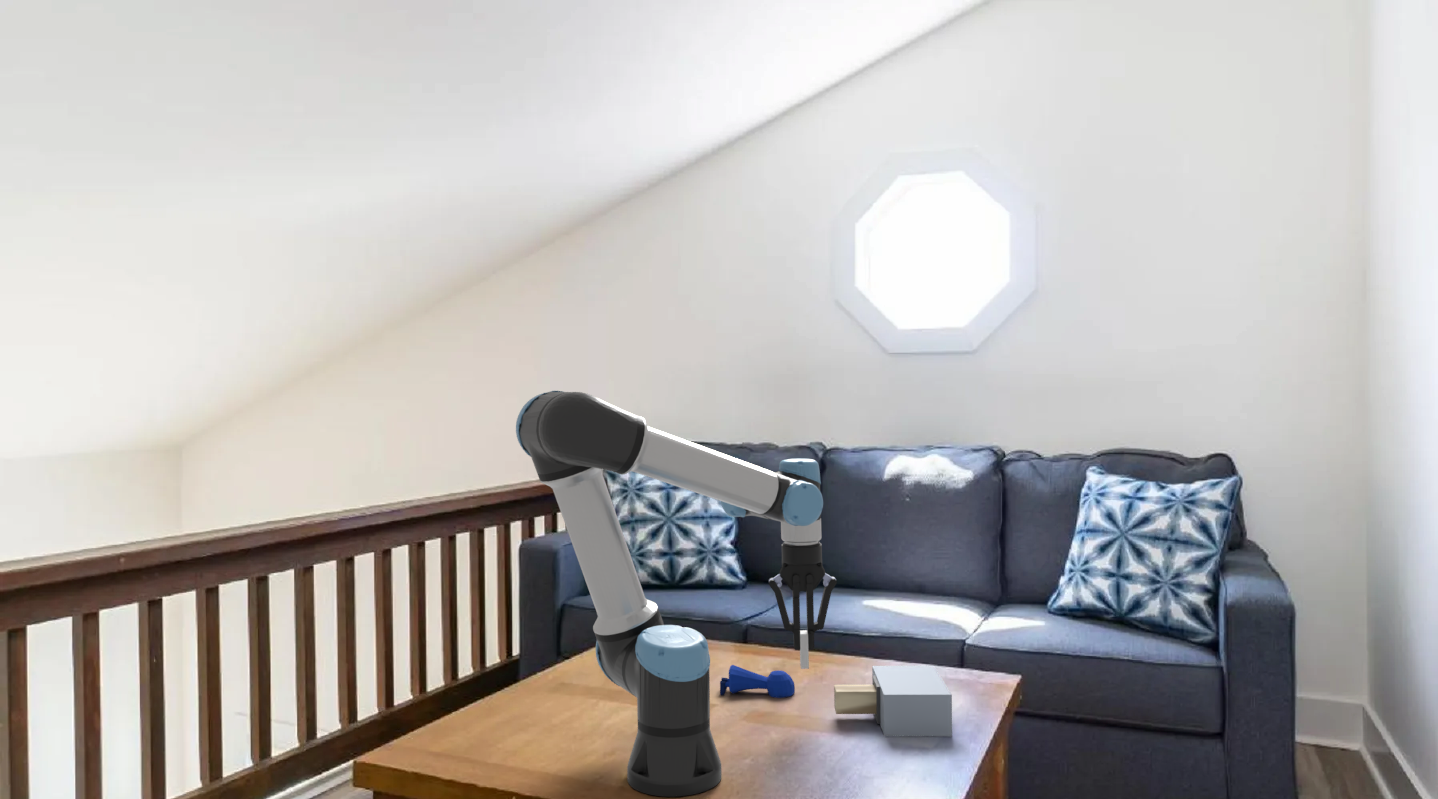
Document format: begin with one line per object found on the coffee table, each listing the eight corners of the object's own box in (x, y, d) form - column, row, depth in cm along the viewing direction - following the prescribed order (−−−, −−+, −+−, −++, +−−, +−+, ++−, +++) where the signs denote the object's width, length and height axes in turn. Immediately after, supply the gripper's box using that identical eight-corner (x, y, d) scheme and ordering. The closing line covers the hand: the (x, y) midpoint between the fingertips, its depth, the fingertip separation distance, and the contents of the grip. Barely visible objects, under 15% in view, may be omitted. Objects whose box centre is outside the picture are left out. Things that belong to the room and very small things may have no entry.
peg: (923, 714, 187) (922, 691, 187) (836, 714, 188) (835, 691, 187) (919, 706, 191) (919, 684, 191) (834, 706, 192) (834, 684, 192)
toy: (719, 701, 204) (794, 700, 202) (718, 670, 204) (792, 669, 202) (723, 690, 211) (795, 689, 209) (722, 661, 210) (794, 659, 209)
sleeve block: (952, 736, 180) (951, 694, 180) (880, 736, 180) (880, 694, 180) (934, 703, 198) (933, 665, 198) (869, 703, 198) (869, 665, 198)
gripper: (834, 537, 193) (837, 660, 193) (766, 538, 193) (769, 661, 194) (838, 544, 185) (841, 672, 186) (766, 545, 186) (770, 673, 186)
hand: (804, 666), depth 190 cm, fingers closed
